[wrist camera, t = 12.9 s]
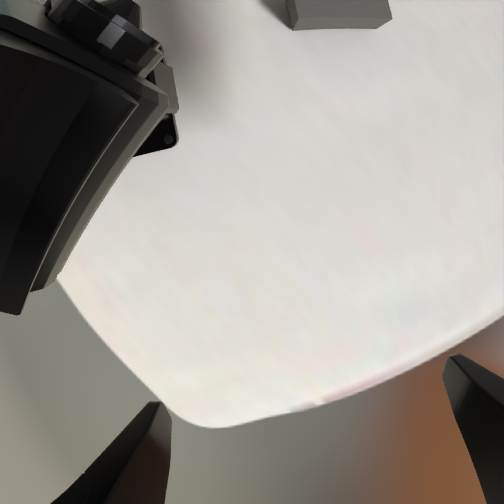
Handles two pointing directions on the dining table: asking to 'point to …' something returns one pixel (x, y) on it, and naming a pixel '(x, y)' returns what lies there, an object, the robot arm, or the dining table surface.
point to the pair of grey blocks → (338, 14)
